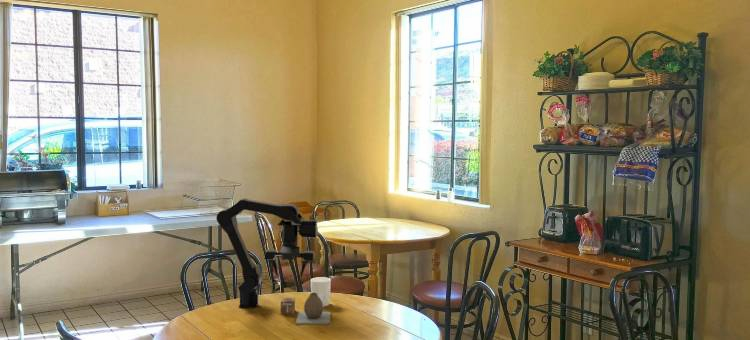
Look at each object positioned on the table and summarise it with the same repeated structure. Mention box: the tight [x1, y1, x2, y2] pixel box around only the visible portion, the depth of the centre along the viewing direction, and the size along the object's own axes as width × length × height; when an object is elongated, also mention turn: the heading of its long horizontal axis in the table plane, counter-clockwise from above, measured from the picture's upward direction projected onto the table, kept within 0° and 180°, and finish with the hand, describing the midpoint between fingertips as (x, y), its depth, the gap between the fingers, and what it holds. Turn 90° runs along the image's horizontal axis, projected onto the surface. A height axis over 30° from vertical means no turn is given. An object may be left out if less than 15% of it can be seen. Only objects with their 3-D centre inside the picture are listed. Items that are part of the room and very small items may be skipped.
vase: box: [303, 292, 324, 319], centre depth 229 cm, size 7×7×9 cm
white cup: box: [310, 276, 332, 308], centre depth 247 cm, size 8×8×10 cm
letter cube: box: [280, 297, 296, 315], centre depth 236 cm, size 5×5×5 cm
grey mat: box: [295, 311, 331, 325], centre depth 229 cm, size 12×12×1 cm
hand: (289, 276), depth 243 cm, fingers open, 9 cm apart
